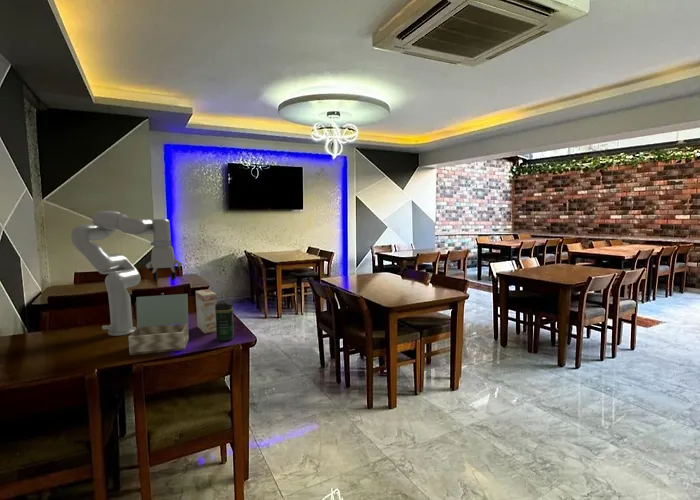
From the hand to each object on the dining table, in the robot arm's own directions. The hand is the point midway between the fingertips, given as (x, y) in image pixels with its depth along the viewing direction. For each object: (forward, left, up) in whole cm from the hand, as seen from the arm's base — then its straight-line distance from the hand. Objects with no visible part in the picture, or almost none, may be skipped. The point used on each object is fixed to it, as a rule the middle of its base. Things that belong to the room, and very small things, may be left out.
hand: (164, 280), depth 195 cm
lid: (0, -10, -12) cm, 16 cm away
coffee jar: (+28, -14, -28) cm, 42 cm away
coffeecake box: (+18, +5, -28) cm, 34 cm away
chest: (0, -18, -28) cm, 33 cm away
